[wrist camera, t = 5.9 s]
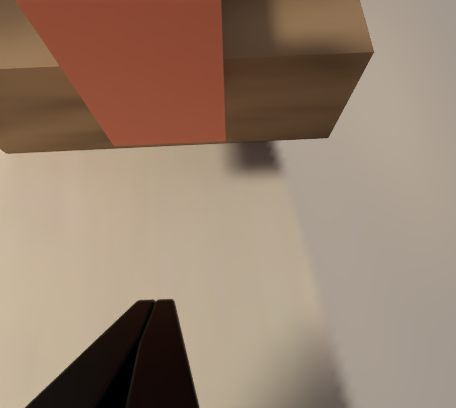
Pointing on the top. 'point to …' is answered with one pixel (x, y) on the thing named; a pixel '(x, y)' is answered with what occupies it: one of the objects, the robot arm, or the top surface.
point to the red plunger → (140, 64)
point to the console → (232, 67)
